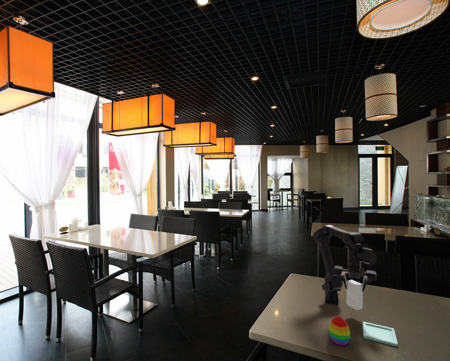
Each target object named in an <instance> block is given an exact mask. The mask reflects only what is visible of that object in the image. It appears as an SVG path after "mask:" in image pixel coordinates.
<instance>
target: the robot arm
mask: <svg viewBox="0 0 450 361" xmlns="http://www.w3.org/2000/svg"><path fill="white" fill-rule="evenodd" d="M332 235H333V236H335V237H337V238H339V239H342V241H343V243H345V244H344V246H343V247H344V248H346V249H347V269H346V268H343V266H341V265H334V262H333V261H334V260H333V258H332V254H331V250H330V247H329V244H330V237H331V236H332ZM312 238H313V240H314V243H315V244H316V245H317V246H318V248H319V250H320V251H319V252H320V254H321V259H322V262H323V267H324V270H325V275H324V283H323V284H322V285H321V288H322V291H324V303H326V304H332V305H335V306H337V305H338V304H339V303H340V293H339V292H341V291H342V289H343V285H344V287H345V289H346V290H347V278H346V277H347V276H346V275H348V278H350V279H356V280H359V279H361V277H363V282H362V293H364V291H365V289H366V286H367V284H368V283H369V282H372V281H375V282H376V281H378V276H377V272H376V271H374V270H370V269H369V270H368V269H367V270H366V271H365V268H363V267H362V263H365V264H367V265H370V266H373V265H375V264H376V262H377V258H378V257H377V255H376V253H374V250H373V249H372V248H369V247H368V244H367V243H366V240H365V239H364V236H363V234H362V233H360V232H354V231H348V230H344V229H342V228H339V227H337V226H334V225H332V224H325V225H323V226H322V227H321V228H319V229H317V230H316V231H314V232H313V233H312Z"/></svg>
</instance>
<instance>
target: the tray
mask: <svg viewBox="0 0 450 361" xmlns="http://www.w3.org/2000/svg"><path fill="white" fill-rule="evenodd" d="M362 331H363V332H362V333H363V334H362V335H363V339H365V340H370V341H373V342H377V343H381V344H385V345H387V346H393V347H396V348H399V344H398V340H397V336H396V332H395V328H393V327H389V326H384V325H379V324H376V323H372V322H368V321H362Z"/></svg>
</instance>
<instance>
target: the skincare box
mask: <svg viewBox="0 0 450 361" xmlns="http://www.w3.org/2000/svg"><path fill="white" fill-rule="evenodd" d="M346 284H347V289H346V306H348V307H350V308H352V309H354V310H355V311H360V310H362V309H363V290H362V288H363V283H360V282H358V281H355V280H353V279H350V280H346Z"/></svg>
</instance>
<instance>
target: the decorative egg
mask: <svg viewBox="0 0 450 361" xmlns="http://www.w3.org/2000/svg"><path fill="white" fill-rule="evenodd" d="M350 330H351V329H350V326H349V325H348V322H347V321H346V320H345V319H344V318H343V317H342V316H334V317H333V318H332V319H331V320H330V322H329V325H328V335H329V337H330V339H331V341H332V342H333V343H334V344H336V345H338V346H346V345H347V344H348V343H349V342H350V339H351V331H350Z"/></svg>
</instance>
